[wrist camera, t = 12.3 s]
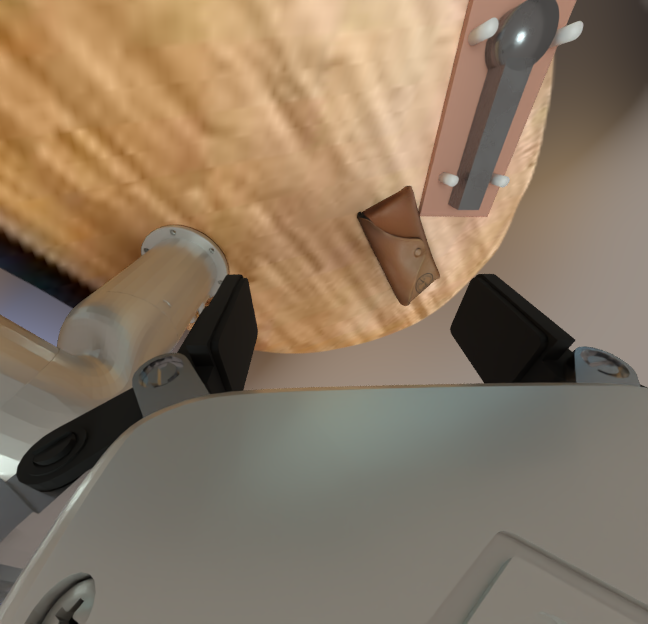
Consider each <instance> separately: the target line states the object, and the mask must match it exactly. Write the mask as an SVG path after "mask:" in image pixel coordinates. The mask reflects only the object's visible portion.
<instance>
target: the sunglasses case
mask: <svg viewBox="0 0 648 624" xmlns="http://www.w3.org/2000/svg"><path fill="white" fill-rule="evenodd" d="M357 218H358V219H359V222H360V224H361V226H362V228H363V231H364V233H365V235H366V237H367V239H368V241H369V243H370V245H371V247H372V249H373V251H374V253H375V255H376V257H377V259H378V261H379V263H380V265H381V267H382V269H383V271H384V273H385V275H386V277H387V279H388V281H389V283H390V285H391V287H392V289H393V291H394V293H395V295H396V297H397V299H398V300H399V302H400V303H401V304H402V305H404V306H407V305H409V304H410V302H411V301H412V300H413V299H414V298H415V297H416V296H418V295H419V294H420V293H421V292H422V291H423V290H425V289H426V288H427V287H428V286H429V285H430V284H431V283H432V282H433V281H434V280H436V279H439V278H440V274H439V272H438V269H437V267H436V265H435V262H434V260H433V257H432V254H431V251H430V248H429V245H428V243H427V239H426V236H425V233H424V230H423V227H422V223H421V220H420V216H419V213H418V209H417V205H416V201H415V197H414V193H413V190H412V187H411V186H406V187H404V188H403V189H402V190H401V191H399V192H398V193H396V194H394V195H392V196H390V197H388V198H386V199H385V200H383V201H381V202H379V203H377V204H376V205H374V206H372V207H370V208H368V209H366V210H365V211H363V212H362V213H361V212H359V213H358V215H357Z"/></svg>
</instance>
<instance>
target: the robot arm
mask: <svg viewBox="0 0 648 624" xmlns="http://www.w3.org/2000/svg"><path fill="white" fill-rule="evenodd" d="M212 248H213V249H214V250H213V249H212ZM213 296H214V297H213ZM211 297H213V299H212V301H211V302H210V304H209V306H207V307H205V304H206V302H207V300H208V299H209V298H211ZM197 311H198V312H199V317H198V319H197V317H196V312H197ZM195 321H196V322H195ZM193 322H195V324H194V325H193V327H192V329H191V330H190V332H189V334H188V336H187V337H186V339H185V341H184V342H183V344H182V346H181V347H180V349H179V351H178V352H177V353H171V352H172V350H173V349H174V347H175V346H176V344H177V343H178V341H179V340H180V338H181V336H182V335H183V333H184V331H185V330H186V328H187V327H188V325H189V323H193ZM450 330H451V334H452V336H453V337H454V339H455V340H456V342H457V343H458V344H459V346H460V347H461V349H462V350H463V352H464V354H465V355H466V357H467V358H468V360H469V361H470V362H471V364H472V365H473V367H474V368H475V370H476V371H477V373H478V374H479V376H480V377H481V379H482V380H483V382H484V384H434V385H433V384H431V385H430V384H429V385H386V386H385V385H383V386H347V387H346V386H345V387H308V388H284V389H260V390H244V391H243V389H244V385H245V381H246V377H247V374H248V370H249V366H250V362H251V358H252V354H253V351H254V347H255V343H256V339H257V334H258V329H257V324H256V319H255V313H254V308H253V303H252V298H251V293H250V288H249V282H248V279H247V278H243V276H242V275H228V265H227V261H226V259H225V257H224V254H223V253H222V251H221V250H220V248H219V247H218V246H217V245H216V244H215V243H214V242H213V241H212V240H211V239H210V238H208V237H207V236H206V235H204V234H202V233H201V232H199V231H197V230H194V229H192V228H189V227H185V226H181V225H168V226H163V227H160V228H158V229H156V230H154V231H153V232H151V233H150V234H149V235H148V236H147V237H146V238H145V240H144V242H143V243H142V247H141V257H140V258H138V259H137V260H136V261H134V262H133V263H132V264H130V265H129V266H128V267H127V268H125V269H124V270H123V271H121V272H120V273H119V274H117V275H116V276H115V277H113V278H112V279H111V280H110V281H108V282H107V283H106V284H104V285H103V286H102V287H100V288H99V289H98V290H96V291H95V292H94V293H92V294H91V295H90V296H88V297H87V298H85V299H84V300H83V301H82V302H80V303H79V304H78V305H77V306H75V307H74V308H73V309H72V310H71V312H70V313H69V314H68V316H67V317H66V319H65V321H64V323H63V325H62V327H61V330H60V334H59V337H58V343H57V347H55V346H53V345H52V344H50V343H48V342H47V341H45V340H43V339H41V338H40V337H38V336H36V335H35V334H33V333H31V332H29V331H28V330H26V329H24V328H22V327H20V326H19V325H17V324H15V323H14V322H12V321H10V320H9V319H7V318H5V317H3V316H2V315H0V624H648V388H647V387H645V386H642V385H640V383H639V380H638V377H637V374H636V373H635V371H634V370H633V368H632V367H631V366H629V365H628V364H627V363H626V362H624V361H623V360H621V359H620V358H618V357H616V356H614V355H613V354H611V353H608V352H605V351H603V350H600V349H597V348H593V347H578V348H576V349H575V350H574V351H573V352H571V351H570V350H569V349H568V348H569V347H570V346H571V345H572V344H573V342H574V341H575V339H574V338H572V337H571V336H570V335H569V334H567V333H566V332H565V331H564V330H563V329H561V328H560V327H559V326H558V325H556V324H555V323H554V322H553V321H552V320H550V319H549V318H548V317H547V316H545V315H544V314H543V313H542V312H540V311H539V310H538V309H537V308H536V307H534V306H533V305H532V304H530V303H529V302H528V301H527V300H526V299H524V298H523V297H522V296H521V295H520V294H518V293H517V292H516V291H515V290H513V289H512V288H511V287H510V286H509V285H507V284H506V283H505V282H504V281H502V280H501V279H500V278H498V277H497V276H496V275H494V274H478V275H477V276H476V277H475V278H473V279H471V281H470V283H469V286H468V288H467V290H466V293H465V295H464V297H463V300H462V302H461V304H460V306H459V309H458V311H457V313H456V316H455V318H454V320H453V322H452V325H451V328H450Z"/></svg>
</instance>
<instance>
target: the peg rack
mask: <svg viewBox="0 0 648 624" xmlns="http://www.w3.org/2000/svg"><path fill="white" fill-rule="evenodd" d="M525 1H526V0H469V3H468V8H467V12H466V16H465V20H464V24H463V28H462V32H461V37H460V41H459V45H458V49H457V53H456V57H455V61H454V66H453V70H452V74H451V78H450V82H449V86H448V90H447V95H446V99H445V103H444V107H443V111H442V115H441V119H440V124H439V128H438V132H437V136H436V140H435V144H434V148H433V153H432V157H431V161H430V165H429V169H428V173H427V177H426V182H425V186H424V190H423V194H422V198H421V202H420V206H419V211H418V213H419V216H459V217H487V216H488V214H489V212H490V209H491V207H492V204H493V202H494V199H495V197H496V195H497V192H498V190H499V187H505V186H506V185H507V184H508V183H509V180H510V179H509V177H507V176H504V175H505V173H506V170H507V168H508V165H509V163H510V160H511V158H512V156H513V153H514V151H515V148H516V146H517V143H518V141H519V139H520V136H521V134H522V131H523V129H524V126H525V124H526V121H527V119H528V117H529V114H530V112H531V109H532V107H533V104H534V102H535V100H536V97H537V95H538V92H539V90H540V87H541V85H542V82H543V80H544V78H545V75H546V73H547V70H548V68H549V65H550V63H551V61H552V58H553V56H554V53H555V51H556V48H557V46H558V45H560V44H563V43H566V42H569V41H572V40H575V39H576V38H577V37H578V36H579V35H580V33H581V32H582V29H583V23H582V22H581V21H578V22H576V23H573V24H570V25H568V26H566V24H567V22H568V19H569V17H570V14H571V12H572V9H573V7H574V4H575V2H576V0H556V1H557V4H558V7H559V23H558V28H557V31H556V34H555V37H554V39H553V41H552V43H551V45H550V47H549V48H548V50H547V51H546V52H545V54H544V55H543V56H542V57H541V58H540V59H539V60H538V61H537V62H536V63H535V64H534V65H533V67H532V70H531V73H530V75H529V78H528V81H527V83H526V86H525V89H524V91H523V94H522V97H521V99H520V102H519V105H518V107H517V110H516V113H515V115H514V118H513V121H512V123H511V126H510V129H509V131H508V134H507V137H506V139H505V142H504V145H503V147H502V150H501V153H500V155H499V158H498V161H497V163H496V166H495V169H494V171H493V174H492V177H491V179H490V182H489V185H488V187H487V190H486V192H485V195H484V198H483V200H482V203H481V206H480V208H479V210H457V209H455V208H453V207H452V206H450V205H448V202H449V199H450V195H451V192H452V189H453V186H455V185H456V184H457V183H458V181H459V178H458V177H457V176H456V175H457V172H458V169H459V165H460V162H461V159H462V155H463V152H464V149H465V145H466V142H467V138H468V135H469V132H470V128H471V125H472V122H473V118H474V115H475V112H476V108H477V105H478V102H479V98H480V95H481V92H482V88H483V85H484V81H485V78H486V75H487V71H488V69H487V67H486V64H485V47H486V43H487V40H488V38H490V37H492V36H493V35H494V34H495V33H496V31H497V29H498V25H499V22H498V20H499V19H500V18H501V17H502V16H503V15H504V14H505V13H506V12H508V11H509V10H511V9H513V8H515V7H516V6H518V5H520V4H521V3H523V2H525Z"/></svg>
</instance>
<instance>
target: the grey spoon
mask: <svg viewBox="0 0 648 624" xmlns="http://www.w3.org/2000/svg"><path fill="white" fill-rule="evenodd" d="M498 22H499V25H498V29H497V31H496V33H495V34H494V35H493V36H492V37H490V38H488V40H487V43H486V47H485V64H486V67H487V69H488V71H487V75H486V78H485V81H484V85H483V88H482V92H481V95H480V98H479V102H478V105H477V108H476V112H475V115H474V118H473V122H472V125H471V128H470V132H469V135H468V138H467V142H466V145H465V149H464V152H463V155H462V159H461V162H460V165H459V169H458V172H457V175H456V176H457V177H458V178H459V181H458V183H457V184H456V185H455V186H453V189H452V192H451V195H450V199H449V202H448V205H450V206H452V207H453V208H455V209H457V210H479V208H480V206H481V203H482V200H483V198H484V195H485V192H486V190H487V187H488V185H489V182H490V179H491V177H492V174H493V171H494V169H495V166H496V163H497V161H498V158H499V155H500V153H501V150H502V147H503V145H504V142H505V139H506V137H507V134H508V131H509V129H510V126H511V123H512V121H513V118H514V115H515V113H516V110H517V107H518V105H519V102H520V99H521V97H522V94H523V91H524V89H525V86H526V83H527V81H528V78H529V75H530V73H531V70H532V67H533V65H534V64H535V63H536V62H537V61H538V60H539V59H540V58H541V57H542V56H543V55H544V54H545V52H546V51H547V50H548V48H549V47H550V45H551V43H552V41H553V39H554V37H555V34H556V31H557V28H558V23H559V7H558V4H557V1H556V0H526V1H525V2H523V3H521V4H520V5H518V6H516V7H515V8H513V9H511V10H509V11H508V12H506V13H505V14H504V15H503V16H502V17H501V18H500V19H499V20H498Z"/></svg>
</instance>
